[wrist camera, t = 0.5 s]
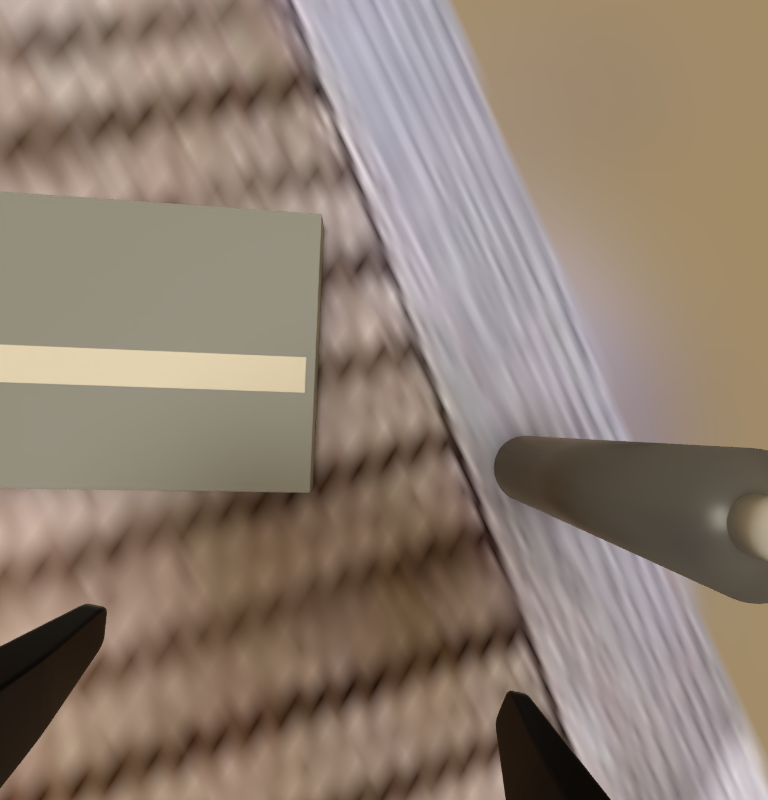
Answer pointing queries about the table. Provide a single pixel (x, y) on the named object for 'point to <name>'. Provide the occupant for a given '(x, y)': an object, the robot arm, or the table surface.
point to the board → (157, 345)
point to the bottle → (654, 502)
